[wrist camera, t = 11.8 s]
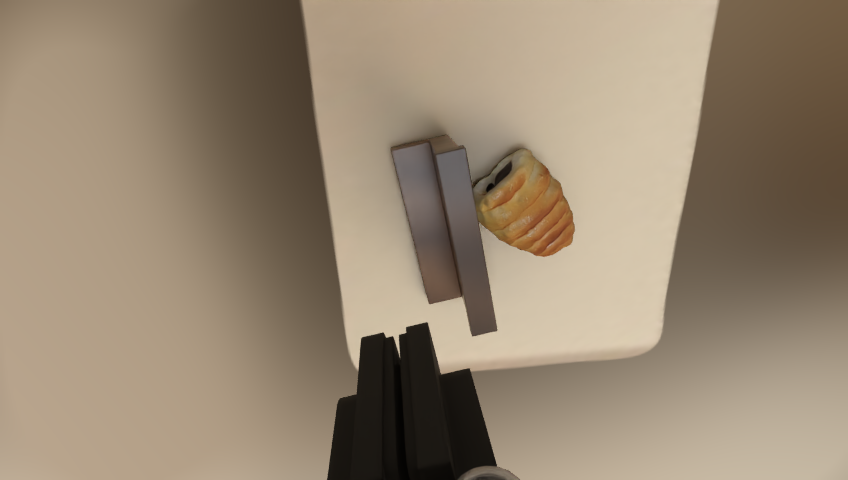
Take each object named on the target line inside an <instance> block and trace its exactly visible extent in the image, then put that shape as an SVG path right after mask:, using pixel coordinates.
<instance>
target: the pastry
mask: <svg viewBox="0 0 848 480" xmlns="http://www.w3.org/2000/svg"><path fill="white" fill-rule="evenodd" d="M473 194H474V200H475V205H476V211H477V217H478V221H479V222H480V223H481V224H482V225H483V226H485V227H486V228H487V229H488V230H490V231H491V232H492V233H493V234H494V235H495V236H496V237H497V238H498V239H499V240H501V241H504V242H506V243H507V244H509V245H510V246H514V247H517V248H518V249H520V250H525V251H528V252H531V253H533V254H534V255H536V256H543V257H545V256H549V255H553V254H555V253H556V252H558V251H560V250H561V249H562V248H564V247H567V246H569V245H570V244H571V243H572V240H573V234H574V231H575V226H574V222H573V213H572V211H571V210H570V207H569V204H568V202H567V200H566V199H565V197H564V196H563V192H562V188H561V184H560V183H559V182H558V181H557V180H556V179H554V178H553V177H552V176H551V175H550V173H549V170H548V169H547V168H546V167H545V166H544V165H543V164H542V163H540V162H539V161H538V160H536V159H535V158H534V157H533V155H532V153H531V151H530V150H527V149H520V150H518V151H517V152H515V153H513V154H511V155H509V156H507V157H506V158H505V159H503V160H502V161H501V162H500V163H499V164H498V165H497V167H496V168H495V169H494V170H493V171H492V173H491V174H490V176H488V177H486V178H484V179H482V180H481V181H480V182H479V183H478V184H477V185H476V186H475V187H474V188H473Z"/></svg>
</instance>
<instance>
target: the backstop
mask: <svg viewBox="0 0 848 480" xmlns="http://www.w3.org/2000/svg"><path fill="white" fill-rule="evenodd" d="M391 152H392V156H393V160H394V164H395V168H396V172H397V176H398V180H399V185H400V189H401V193H402V197H403V201H404V205H405V209H406V213H407V217H408V221H409V225H410V229H411V233H412V237H413V241H414V245H415V249H416V253H417V257H418V261H419V266H420V270H421V274H422V278H423V282H424V286H425V290H426V294H427V298H428V302H429V304H433V303H437V302H441V301H445V300H450V299H454V298H458V297H462V298H463V301H464V304H465V307H466V312H467V317H468V321H469V326H470V331H471V334H472V336H477V335H481V334H485V333H489V332H494V331H497V325H496V319H495V313H494V308H493V302H492V296H491V291H490V285H489V279H488V274H487V268H486V262H485V256H484V251H483V245H482V239H481V234H480V228H479V222H478V217H477V211H476V205H475V200H474V194H473V188H472V182H471V177H470V171H469V165H468V160H467V154H466V148H465V147H464V146H463V145H462V146H457V144H456V143H455V142H454V141H453V140H452V139H451V138H450V136H449V135H443V136H439V137H434V138H430V139H429V140H428V139H426V140H421V141H417V142H413V143H409V144H404V145H400V146H396V147H392V148H391Z"/></svg>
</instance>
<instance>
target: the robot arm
mask: <svg viewBox="0 0 848 480" xmlns="http://www.w3.org/2000/svg"><path fill="white" fill-rule="evenodd" d="M399 345H400V357H399V354H398V350H397V347H396V344H395V340H394V338H393V336H392V337H388V338H386V337H385V334H384V333H379V334H375V335H371V336H366V337H362V338H361V347H360V360H359V372H358V373H359V374H358V385H357V394H356V395H352V396H348V397H343V398H340V399H339V401H338V404H337V410H336V419H335V426H334V434H333V440H332V449H331V456H330V463H329V471H328V478H327V480H520V479H519V478H518V477H517V476H515V475H514V474H513V473H511V472H510V471H508V470H506V469H503V468H500V467H497V464H496V461H495V457H494V454H493V450H492V447H491V443H490V439H489V436H488V432H487V429H486V425H485V421H484V418H483V415H482V411H481V407H480V404H479V400H478V396H477V393H476V389H475V386H474V382H473V379H472V376H471V372H470V369H469V368H468V369H464V370H459V371H455V372H451V373H446V374H442V375H441V373H440V369H439V365H438V361H437V357H436V353H435V349H434V346H433V342H432V338H431V334H430V330H429V326H428V323H427V322H426V323H422V324H418V325H414V326H409V327H406V333H405V334H401V335H399Z"/></svg>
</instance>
